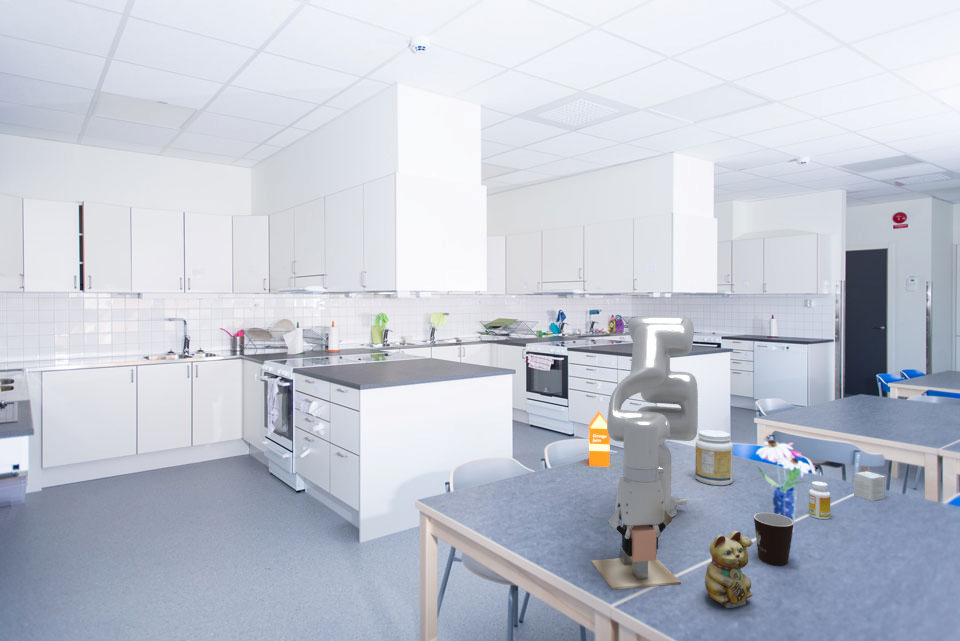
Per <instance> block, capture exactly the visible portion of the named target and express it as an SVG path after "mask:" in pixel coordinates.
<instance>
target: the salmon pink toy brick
mask: <svg viewBox="0 0 960 641" xmlns="http://www.w3.org/2000/svg"><path fill="white" fill-rule="evenodd" d="M656 536H657V531H656V530H655V529H654V528H653V527H651V526H650V525H641V526H633V528H632V532H631V535H630V538H631V539H632V556H631V557H630V558H631V559H632V560H633V561H634V562H640V561H654V560H656V558H657V555H656Z"/></svg>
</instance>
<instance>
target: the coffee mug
mask: <svg viewBox="0 0 960 641" xmlns="http://www.w3.org/2000/svg"><path fill="white" fill-rule="evenodd" d="M753 521H754V530H755V541H756V548H757V558H758V560H760V562H762V563H764V564H767V565H770V566H776V567H785V566H787V565H788V563H789V558H790V552H791V546H792V545H791V544H792V540H793V539H792V538H793V531H794V524H795V523H794V522H795V521H794V520H793V519H792V518H790V517H789V516H785V515H782V514H779V513H774V512H759V513H755V514H754V515H753Z"/></svg>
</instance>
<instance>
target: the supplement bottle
mask: <svg viewBox="0 0 960 641" xmlns="http://www.w3.org/2000/svg"><path fill="white" fill-rule="evenodd" d="M828 488H829V485H828V483H826V482H825V481H823V482H822V481H816V480H815V481H812V482H811V488H810V489H809V490H808V515H809V517H812V518H815V519H818V520H819V519H820V520H829V519H830V518H831V492H830V491H828Z"/></svg>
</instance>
